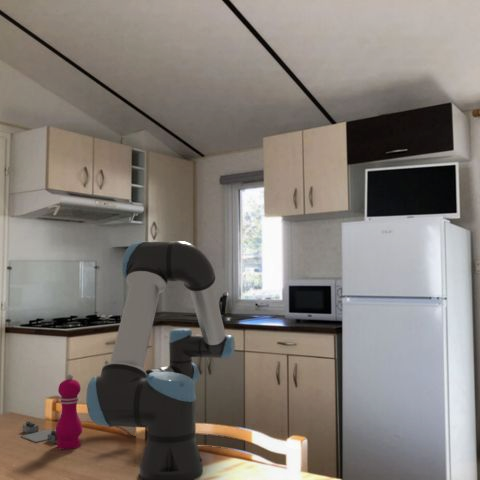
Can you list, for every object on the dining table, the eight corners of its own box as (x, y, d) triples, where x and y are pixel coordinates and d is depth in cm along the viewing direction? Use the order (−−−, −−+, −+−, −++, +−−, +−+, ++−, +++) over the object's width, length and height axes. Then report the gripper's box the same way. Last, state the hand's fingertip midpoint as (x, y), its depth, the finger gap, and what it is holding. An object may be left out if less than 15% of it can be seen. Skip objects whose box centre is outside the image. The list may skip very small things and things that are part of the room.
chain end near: (64, 441, 160) (64, 431, 160) (54, 443, 158) (54, 433, 158) (57, 438, 163) (57, 429, 163) (47, 441, 160) (47, 431, 161)
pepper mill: (55, 443, 158) (56, 372, 159) (81, 441, 160) (82, 371, 161) (54, 451, 151) (56, 376, 152) (82, 448, 153) (83, 375, 154)
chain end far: (38, 432, 170) (38, 422, 170) (29, 434, 168) (29, 424, 168) (32, 429, 173) (32, 420, 173) (22, 431, 170) (22, 422, 171)
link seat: (64, 436, 165) (64, 434, 165) (36, 442, 159) (36, 441, 159) (49, 430, 171) (49, 429, 172) (21, 436, 165) (21, 435, 165)
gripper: (184, 397, 172) (127, 410, 156) (134, 386, 189) (79, 397, 173) (184, 372, 172) (127, 383, 156) (134, 364, 189) (79, 373, 173)
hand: (102, 391), depth 165 cm, fingers open, 13 cm apart
